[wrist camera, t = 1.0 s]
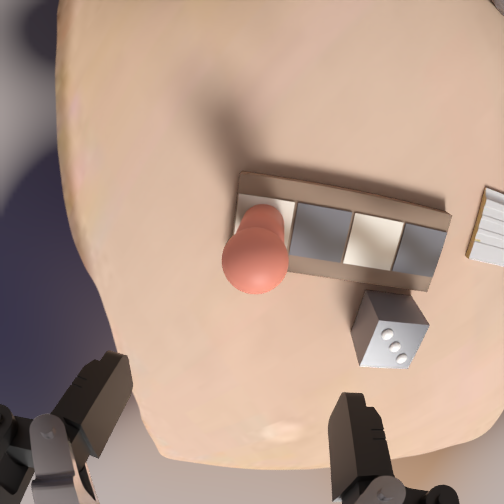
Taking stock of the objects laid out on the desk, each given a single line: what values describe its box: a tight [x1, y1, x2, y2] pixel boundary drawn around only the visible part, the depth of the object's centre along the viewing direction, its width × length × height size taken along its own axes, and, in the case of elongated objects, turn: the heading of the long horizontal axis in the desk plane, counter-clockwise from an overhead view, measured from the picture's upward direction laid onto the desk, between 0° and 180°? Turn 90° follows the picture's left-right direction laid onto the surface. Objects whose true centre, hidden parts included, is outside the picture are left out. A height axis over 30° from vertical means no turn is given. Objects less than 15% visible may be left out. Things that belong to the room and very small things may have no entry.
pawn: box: [222, 204, 289, 294], centre depth 24 cm, size 5×5×11 cm
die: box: [351, 290, 429, 369], centre depth 31 cm, size 6×6×6 cm
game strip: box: [233, 171, 452, 292], centre depth 29 cm, size 9×22×2 cm, turn 83°
